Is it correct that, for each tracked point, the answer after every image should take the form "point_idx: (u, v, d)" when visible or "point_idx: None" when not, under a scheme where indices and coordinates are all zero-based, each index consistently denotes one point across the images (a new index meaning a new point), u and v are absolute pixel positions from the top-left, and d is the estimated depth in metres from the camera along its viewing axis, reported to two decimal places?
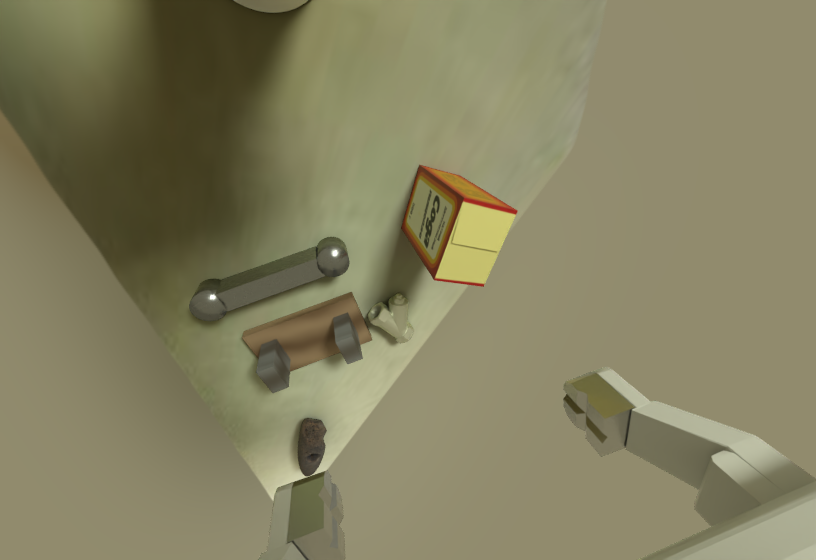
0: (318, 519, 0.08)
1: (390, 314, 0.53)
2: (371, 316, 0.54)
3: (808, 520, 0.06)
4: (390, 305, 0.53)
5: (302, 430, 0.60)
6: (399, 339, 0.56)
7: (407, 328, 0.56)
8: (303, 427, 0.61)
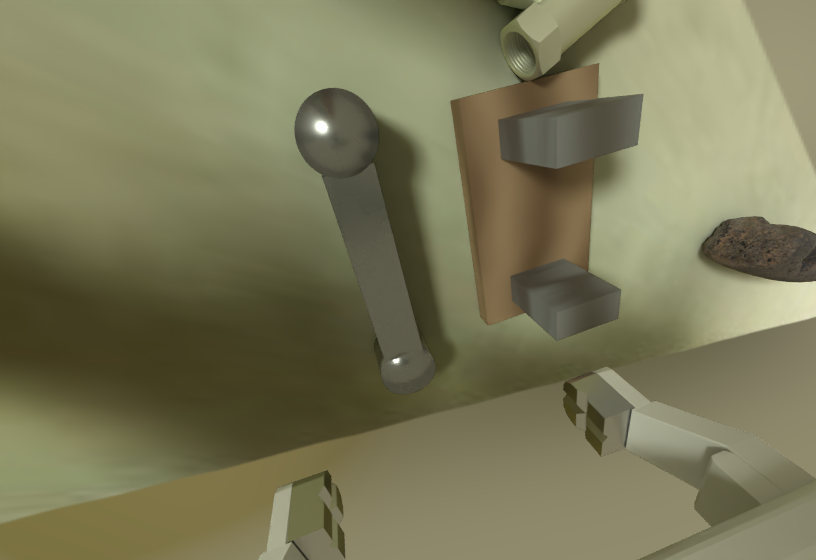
0: (318, 519, 0.08)
1: (542, 1, 0.18)
2: (530, 70, 0.21)
3: (808, 520, 0.06)
4: None
5: (728, 264, 0.29)
6: None
7: None
8: (722, 260, 0.30)
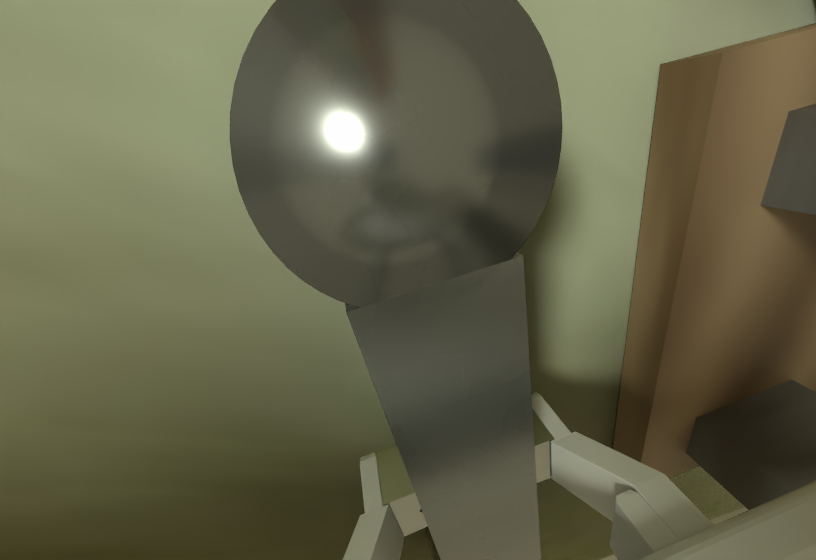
0: (410, 484, 0.09)
1: None
2: None
3: (808, 520, 0.06)
4: None
5: None
6: None
7: None
8: None
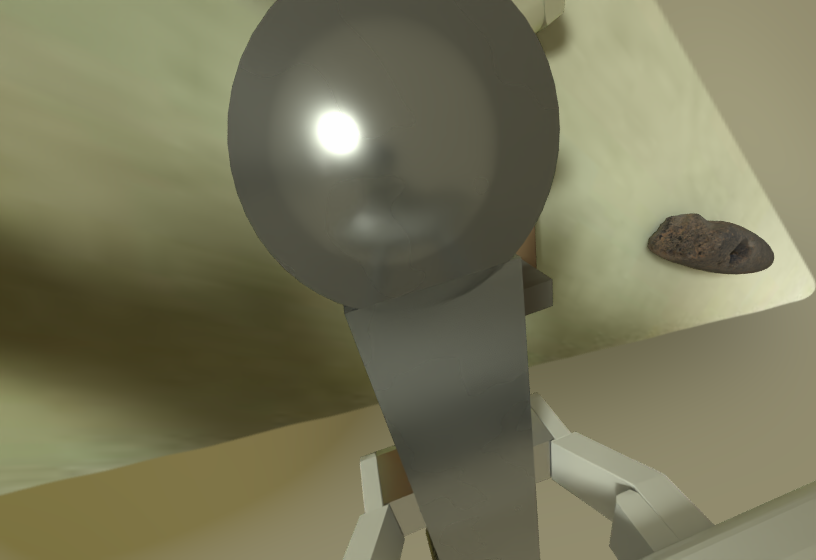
0: None
1: None
2: None
3: (808, 520, 0.06)
4: None
5: (667, 257, 0.32)
6: (549, 11, 0.21)
7: None
8: (662, 254, 0.32)
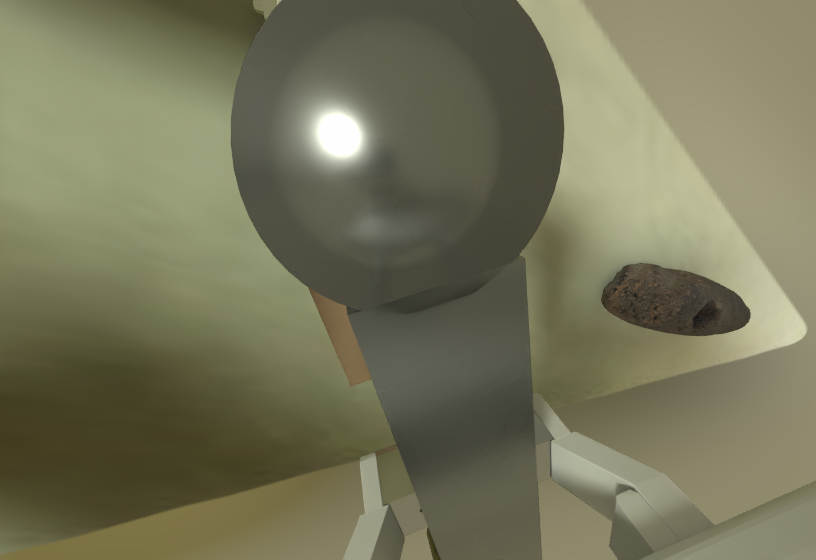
0: (410, 484, 0.09)
1: None
2: None
3: (808, 520, 0.06)
4: None
5: (620, 317, 0.27)
6: None
7: None
8: (614, 312, 0.27)
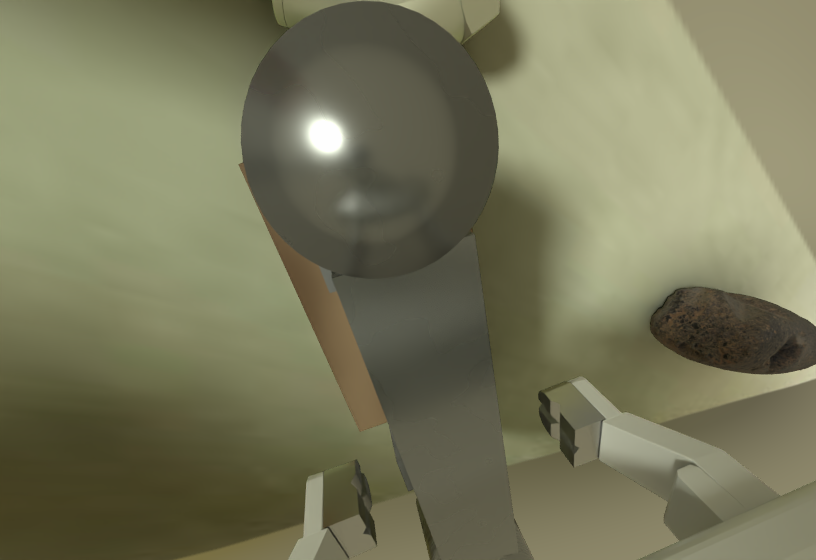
0: (353, 506, 0.08)
1: None
2: None
3: (808, 520, 0.06)
4: (284, 17, 0.12)
5: (677, 351, 0.23)
6: (472, 10, 0.12)
7: None
8: (669, 345, 0.23)
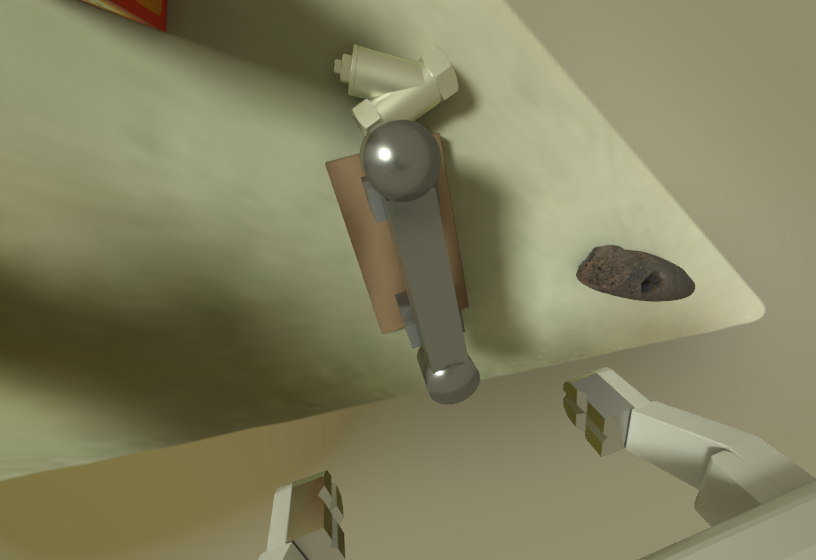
0: (318, 519, 0.08)
1: (373, 98, 0.24)
2: None
3: (808, 520, 0.06)
4: (352, 93, 0.24)
5: (588, 285, 0.35)
6: (444, 90, 0.25)
7: (423, 62, 0.24)
8: (584, 282, 0.35)
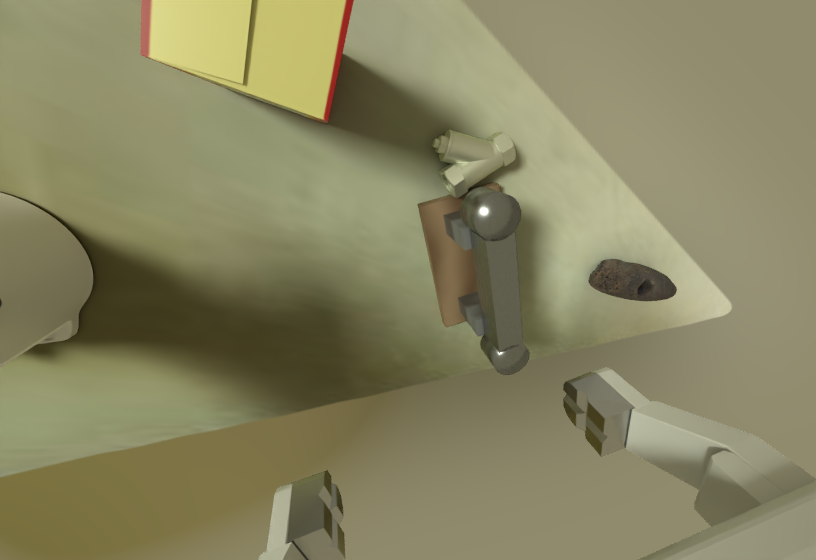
0: (318, 519, 0.08)
1: (458, 164, 0.36)
2: None
3: (808, 520, 0.06)
4: (445, 160, 0.36)
5: (598, 289, 0.47)
6: (506, 160, 0.36)
7: (494, 142, 0.35)
8: (595, 287, 0.47)
